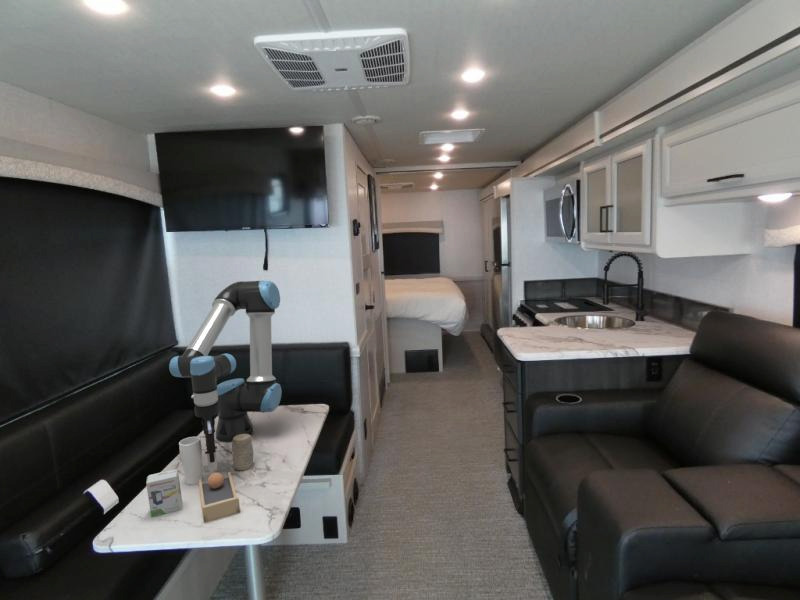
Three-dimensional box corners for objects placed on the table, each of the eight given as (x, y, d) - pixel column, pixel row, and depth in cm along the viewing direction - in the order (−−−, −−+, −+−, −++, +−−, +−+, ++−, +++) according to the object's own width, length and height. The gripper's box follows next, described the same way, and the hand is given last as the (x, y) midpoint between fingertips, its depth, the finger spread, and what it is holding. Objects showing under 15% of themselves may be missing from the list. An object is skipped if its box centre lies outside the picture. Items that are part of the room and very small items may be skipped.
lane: (199, 486, 157) (197, 472, 156) (230, 478, 161) (229, 464, 161) (204, 524, 136) (202, 508, 135) (240, 513, 140) (238, 498, 139)
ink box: (182, 503, 147) (178, 468, 146) (182, 511, 143) (177, 475, 141) (152, 510, 144) (147, 474, 142) (150, 519, 139) (145, 482, 138)
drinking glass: (209, 478, 162) (204, 437, 160) (195, 488, 156) (190, 446, 154) (193, 476, 164) (189, 435, 162) (179, 486, 158) (173, 443, 156)
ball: (207, 486, 156) (206, 472, 155) (223, 482, 158) (222, 468, 157) (208, 493, 151) (207, 478, 151) (225, 488, 153) (223, 474, 153)
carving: (258, 464, 170) (255, 433, 169) (243, 474, 164) (240, 442, 162) (245, 462, 173) (242, 431, 171) (230, 471, 166) (226, 439, 165)
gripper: (193, 399, 161) (200, 464, 164) (195, 410, 150) (202, 480, 153) (216, 395, 165) (222, 459, 167) (220, 406, 153) (226, 474, 156)
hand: (212, 469), depth 160 cm, fingers closed
